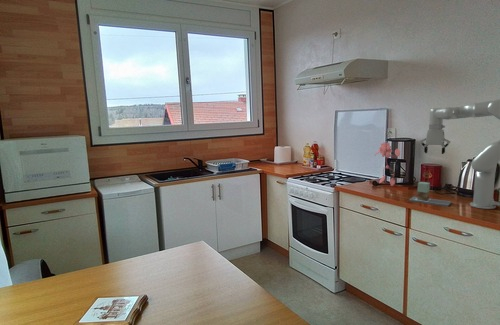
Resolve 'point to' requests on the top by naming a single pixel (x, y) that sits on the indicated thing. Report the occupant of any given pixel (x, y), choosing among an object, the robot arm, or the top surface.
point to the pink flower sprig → (386, 152)
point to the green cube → (423, 187)
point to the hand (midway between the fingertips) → (434, 153)
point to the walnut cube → (423, 196)
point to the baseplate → (432, 201)
